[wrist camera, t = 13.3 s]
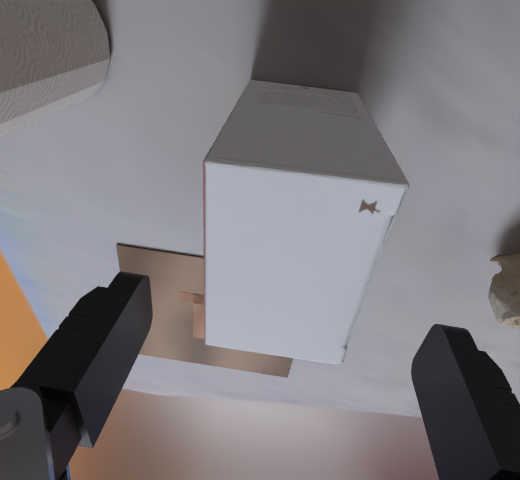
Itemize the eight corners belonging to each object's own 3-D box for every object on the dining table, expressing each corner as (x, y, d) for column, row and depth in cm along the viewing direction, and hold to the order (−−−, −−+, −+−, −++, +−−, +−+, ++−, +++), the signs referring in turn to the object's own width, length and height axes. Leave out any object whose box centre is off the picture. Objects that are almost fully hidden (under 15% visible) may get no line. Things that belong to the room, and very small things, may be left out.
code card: (314, 274, 24) (314, 275, 24) (287, 376, 31) (287, 377, 31) (116, 244, 25) (116, 245, 25) (133, 352, 31) (132, 353, 31)
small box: (249, 76, 18) (198, 150, 9) (360, 90, 18) (416, 179, 9) (239, 213, 22) (199, 349, 14) (327, 225, 22) (343, 370, 13)
